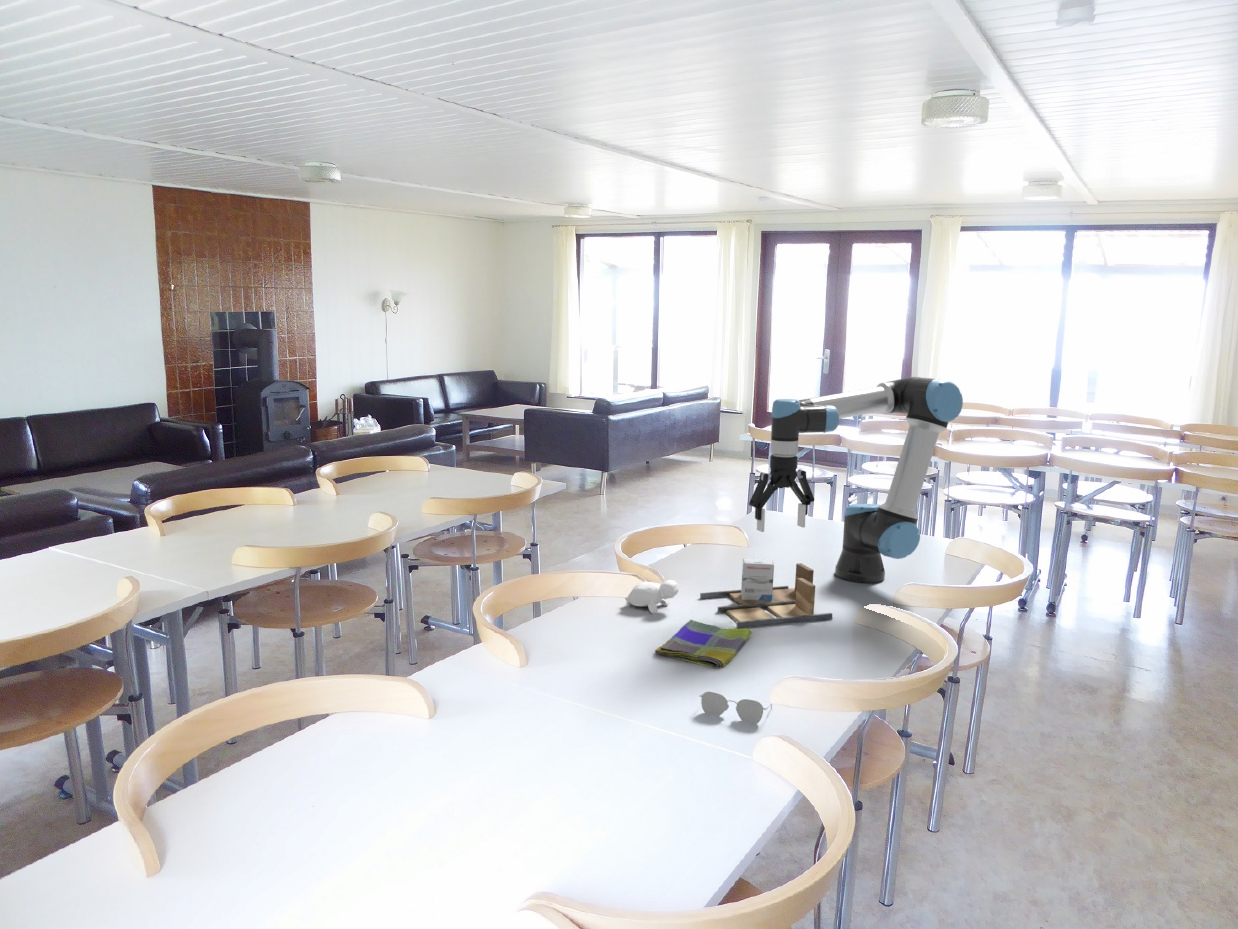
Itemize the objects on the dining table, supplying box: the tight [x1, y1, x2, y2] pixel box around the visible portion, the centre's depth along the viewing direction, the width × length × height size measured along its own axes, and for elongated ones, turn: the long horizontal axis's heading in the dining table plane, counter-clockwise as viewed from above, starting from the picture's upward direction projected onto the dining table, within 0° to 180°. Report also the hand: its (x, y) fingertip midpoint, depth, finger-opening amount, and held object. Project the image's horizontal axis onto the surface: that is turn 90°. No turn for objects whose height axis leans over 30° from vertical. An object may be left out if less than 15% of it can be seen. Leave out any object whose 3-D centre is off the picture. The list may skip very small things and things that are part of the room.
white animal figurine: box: [624, 579, 679, 615], centre depth 233 cm, size 9×8×15 cm
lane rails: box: [699, 585, 833, 629], centre depth 235 cm, size 28×25×2 cm
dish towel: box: [654, 619, 752, 669], centre depth 207 cm, size 18×24×3 cm
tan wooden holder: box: [729, 562, 814, 605], centre depth 242 cm, size 22×10×9 cm, turn 108°
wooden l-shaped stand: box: [725, 578, 816, 623], centre depth 229 cm, size 22×10×9 cm, turn 108°
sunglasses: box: [699, 691, 773, 725], centre depth 174 cm, size 14×8×5 cm, turn 67°
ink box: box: [740, 558, 775, 601], centre depth 240 cm, size 8×5×12 cm, turn 85°
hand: (780, 528), depth 240 cm, fingers open, 13 cm apart
